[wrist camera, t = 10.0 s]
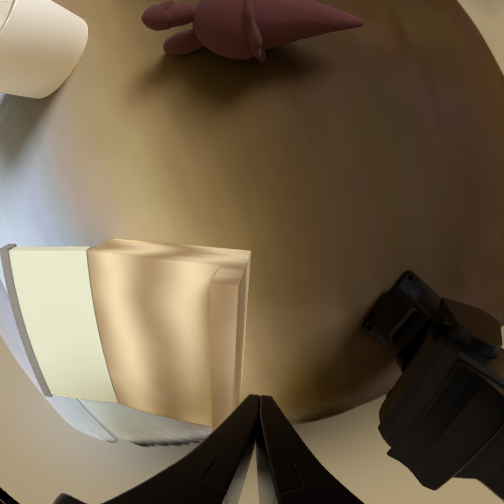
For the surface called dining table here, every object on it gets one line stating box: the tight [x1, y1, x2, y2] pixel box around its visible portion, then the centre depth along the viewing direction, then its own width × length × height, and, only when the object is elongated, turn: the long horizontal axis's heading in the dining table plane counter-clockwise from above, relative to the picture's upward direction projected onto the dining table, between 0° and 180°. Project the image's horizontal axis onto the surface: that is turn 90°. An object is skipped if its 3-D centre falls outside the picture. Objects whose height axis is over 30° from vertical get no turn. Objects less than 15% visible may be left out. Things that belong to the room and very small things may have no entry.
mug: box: [0, 0, 88, 99], centre depth 13 cm, size 14×10×11 cm
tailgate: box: [0, 244, 118, 403], centre depth 20 cm, size 2×16×9 cm
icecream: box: [141, 0, 363, 63], centre depth 14 cm, size 7×7×15 cm
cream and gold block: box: [87, 239, 251, 432], centre depth 21 cm, size 12×16×7 cm
